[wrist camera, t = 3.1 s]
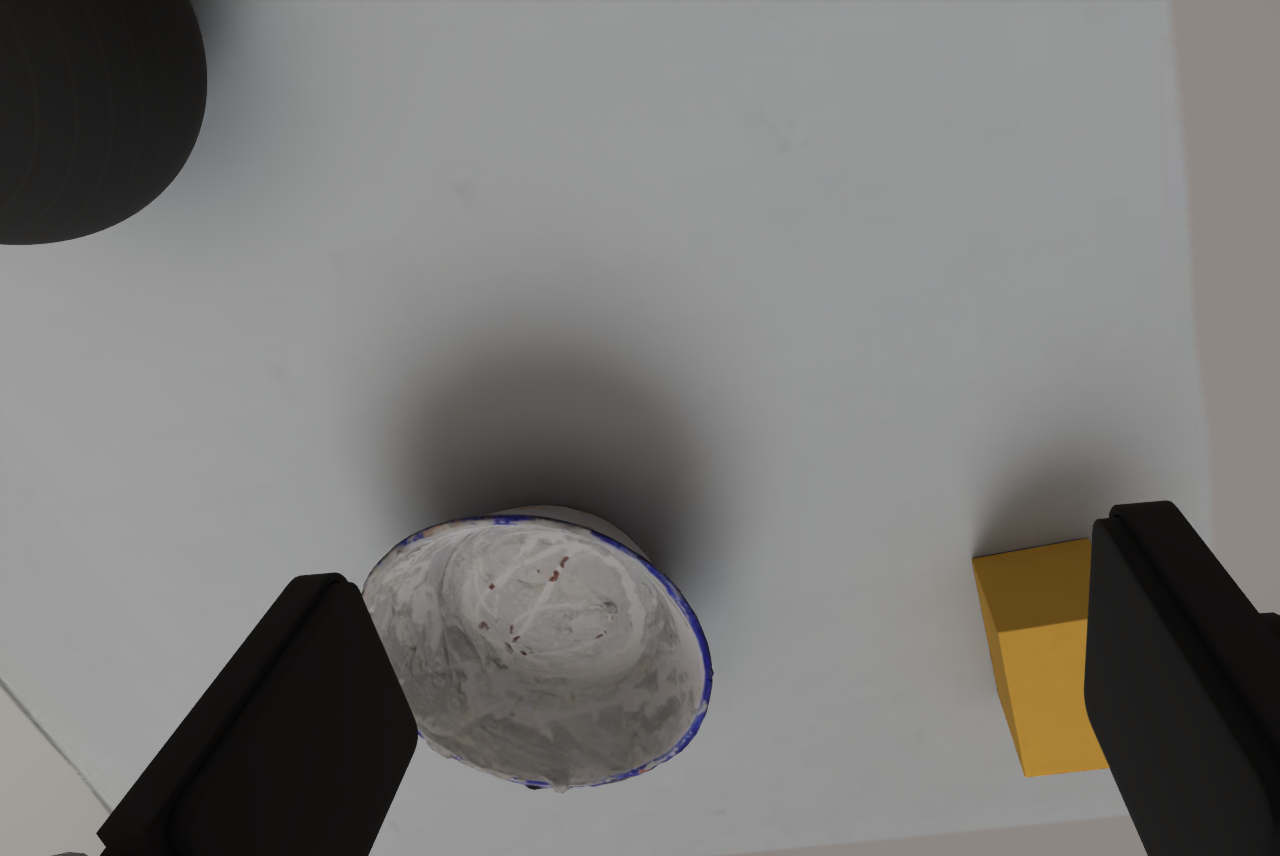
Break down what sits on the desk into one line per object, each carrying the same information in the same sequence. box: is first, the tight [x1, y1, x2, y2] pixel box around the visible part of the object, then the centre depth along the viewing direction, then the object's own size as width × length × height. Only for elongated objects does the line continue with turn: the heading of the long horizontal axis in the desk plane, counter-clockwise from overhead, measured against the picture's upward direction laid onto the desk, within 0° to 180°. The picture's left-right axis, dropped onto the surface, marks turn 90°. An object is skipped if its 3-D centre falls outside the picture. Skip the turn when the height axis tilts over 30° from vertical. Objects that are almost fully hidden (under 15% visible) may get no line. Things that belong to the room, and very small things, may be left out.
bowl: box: [361, 505, 714, 794], centre depth 32 cm, size 13×13×5 cm
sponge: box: [972, 538, 1109, 777], centre depth 30 cm, size 7×4×4 cm, turn 19°
